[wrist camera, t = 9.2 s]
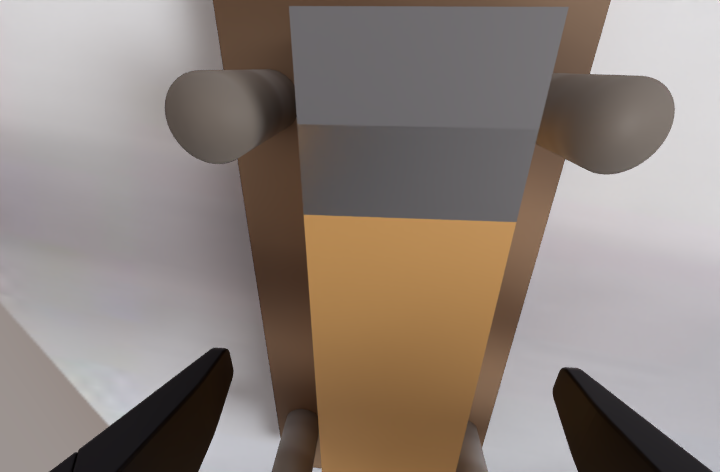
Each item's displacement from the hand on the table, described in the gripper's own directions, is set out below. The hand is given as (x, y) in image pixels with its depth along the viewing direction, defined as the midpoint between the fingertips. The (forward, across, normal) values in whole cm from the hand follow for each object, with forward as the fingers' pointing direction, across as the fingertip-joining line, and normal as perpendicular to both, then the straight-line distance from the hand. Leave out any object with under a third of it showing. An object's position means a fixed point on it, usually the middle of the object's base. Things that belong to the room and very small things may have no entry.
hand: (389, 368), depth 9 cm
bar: (+3, 0, 0) cm, 3 cm away
